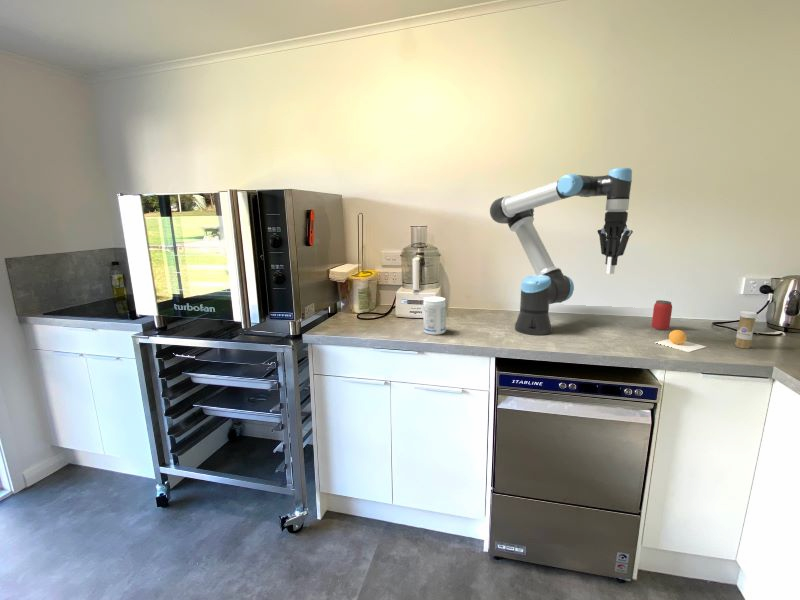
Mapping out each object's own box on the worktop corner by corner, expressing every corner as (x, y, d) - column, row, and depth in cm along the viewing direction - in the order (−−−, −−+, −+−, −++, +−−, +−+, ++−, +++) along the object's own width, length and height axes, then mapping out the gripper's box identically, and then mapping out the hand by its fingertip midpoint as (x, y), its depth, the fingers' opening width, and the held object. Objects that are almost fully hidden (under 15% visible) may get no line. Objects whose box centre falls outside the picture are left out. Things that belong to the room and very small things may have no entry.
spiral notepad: (654, 343, 149) (654, 342, 149) (672, 338, 155) (672, 338, 155) (688, 352, 139) (688, 351, 139) (706, 347, 144) (706, 346, 144)
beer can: (672, 330, 165) (675, 303, 163) (655, 330, 167) (658, 302, 164) (665, 326, 172) (668, 300, 169) (648, 325, 173) (652, 299, 170)
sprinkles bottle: (734, 347, 144) (740, 312, 141) (734, 344, 147) (740, 309, 145) (750, 349, 141) (757, 314, 138) (750, 346, 144) (756, 311, 142)
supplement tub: (439, 328, 172) (440, 295, 169) (449, 333, 163) (450, 299, 160) (419, 330, 169) (419, 297, 166) (428, 336, 160) (428, 301, 157)
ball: (672, 348, 147) (662, 336, 150) (681, 345, 149) (670, 334, 152) (684, 340, 143) (673, 328, 146) (692, 337, 145) (682, 326, 148)
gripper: (640, 210, 141) (632, 274, 146) (607, 211, 153) (601, 271, 157) (627, 210, 138) (619, 276, 143) (594, 211, 149) (588, 272, 154)
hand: (610, 273), depth 150 cm, fingers closed
